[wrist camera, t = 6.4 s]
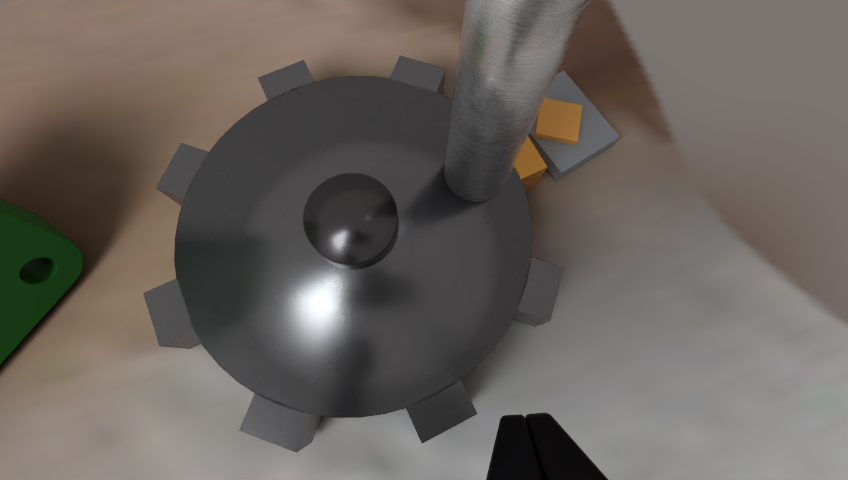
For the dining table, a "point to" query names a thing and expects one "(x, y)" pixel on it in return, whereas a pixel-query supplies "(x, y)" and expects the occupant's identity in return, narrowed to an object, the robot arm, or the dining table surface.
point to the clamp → (31, 272)
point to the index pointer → (569, 128)
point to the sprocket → (369, 230)
